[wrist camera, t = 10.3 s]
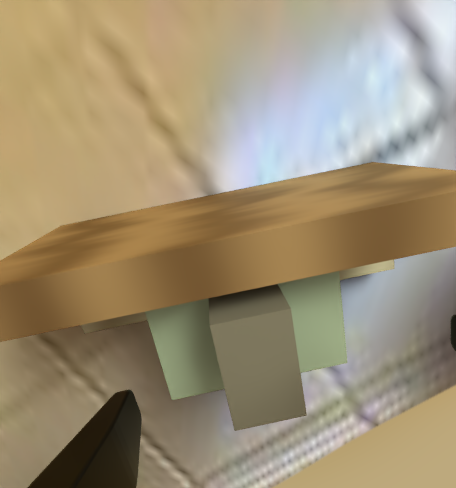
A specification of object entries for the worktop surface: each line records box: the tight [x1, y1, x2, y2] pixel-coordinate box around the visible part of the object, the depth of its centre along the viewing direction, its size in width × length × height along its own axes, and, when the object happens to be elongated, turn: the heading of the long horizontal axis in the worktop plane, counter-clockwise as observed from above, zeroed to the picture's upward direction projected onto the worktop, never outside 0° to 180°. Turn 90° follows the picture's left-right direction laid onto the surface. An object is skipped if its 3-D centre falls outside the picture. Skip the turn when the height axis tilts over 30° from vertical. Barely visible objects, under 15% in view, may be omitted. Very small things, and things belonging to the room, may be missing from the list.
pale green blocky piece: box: [145, 271, 347, 431], centre depth 17 cm, size 9×6×10 cm, turn 101°
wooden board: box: [0, 162, 456, 342], centre depth 16 cm, size 20×7×10 cm, turn 101°
